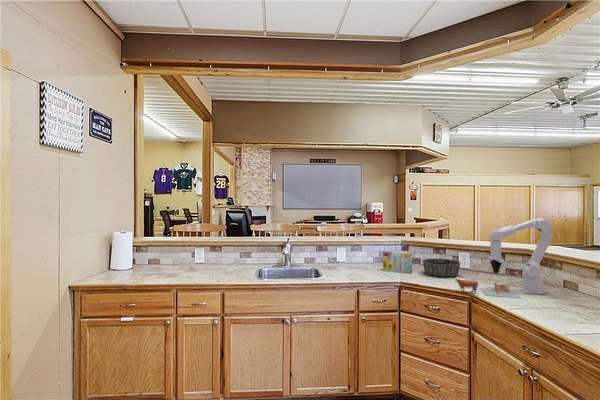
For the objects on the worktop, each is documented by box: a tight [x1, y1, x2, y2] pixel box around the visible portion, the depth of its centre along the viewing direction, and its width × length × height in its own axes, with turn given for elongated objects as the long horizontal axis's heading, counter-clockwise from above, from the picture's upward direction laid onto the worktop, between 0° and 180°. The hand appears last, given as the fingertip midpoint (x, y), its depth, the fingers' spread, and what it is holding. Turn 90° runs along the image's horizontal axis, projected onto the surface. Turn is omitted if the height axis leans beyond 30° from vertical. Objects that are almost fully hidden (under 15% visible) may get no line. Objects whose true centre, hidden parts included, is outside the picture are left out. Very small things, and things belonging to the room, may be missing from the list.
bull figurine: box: [453, 276, 479, 295], centre depth 216 cm, size 4×13×8 cm, turn 51°
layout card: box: [480, 288, 522, 299], centre depth 212 cm, size 18×16×1 cm
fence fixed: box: [494, 282, 510, 292], centre depth 215 cm, size 8×1×5 cm, turn 72°
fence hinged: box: [494, 283, 499, 293], centre depth 212 cm, size 6×1×4 cm, turn 162°
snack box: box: [382, 250, 413, 274], centre depth 277 cm, size 21×6×15 cm, turn 58°
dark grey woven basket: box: [421, 257, 462, 278], centre depth 265 cm, size 26×26×10 cm
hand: (496, 273), depth 220 cm, fingers closed
